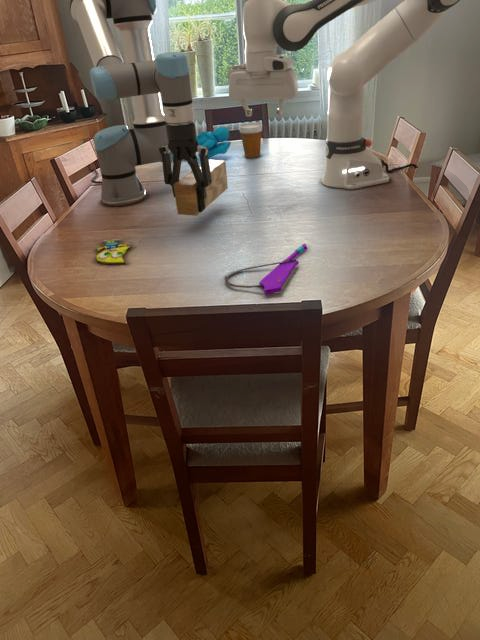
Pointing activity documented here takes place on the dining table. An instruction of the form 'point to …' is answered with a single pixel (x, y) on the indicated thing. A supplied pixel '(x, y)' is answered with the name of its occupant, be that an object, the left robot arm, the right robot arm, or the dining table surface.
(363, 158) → the right robot arm
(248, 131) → the glass of beer
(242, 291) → the dining table surface
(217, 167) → the bar
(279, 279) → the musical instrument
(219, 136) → the toy
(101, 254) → the toy
